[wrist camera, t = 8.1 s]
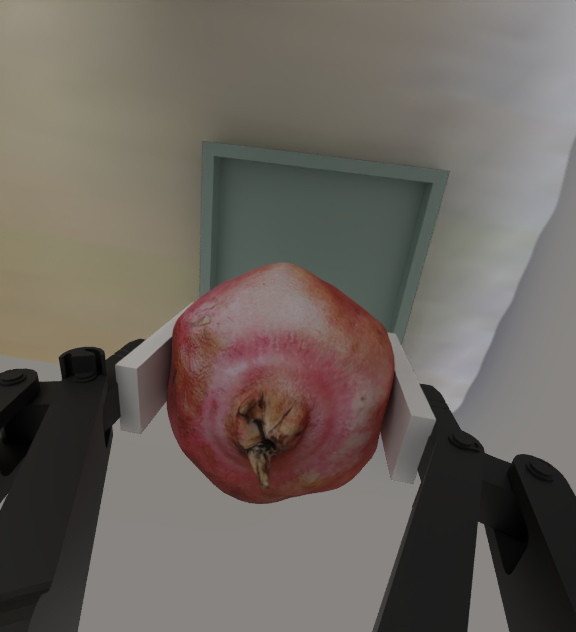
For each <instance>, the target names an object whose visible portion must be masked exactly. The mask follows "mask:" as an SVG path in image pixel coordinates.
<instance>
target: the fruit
mask: <svg viewBox="0 0 576 632" xmlns="http://www.w3.org/2000/svg"><path fill="white" fill-rule="evenodd" d="M394 368H395V362H394V353H393V349H392V345H391V342H390V339H389V336H388V333H387V331H386V329H385V327H384V326H383V325H382V323H380V322H379V321H378V320H377V319H376V318H374V317H373V316H372V315H371V314H370V313H369V312H367V311H366V310H365V309H364V308H362V307H361V306H360V305H359V304H357V303H356V302H355V301H353V300H352V299H351V298H349V297H348V296H347V295H345V294H344V293H343V292H341V291H340V290H339V289H338V288H336V287H335V286H333V285H331V284H329V283H327V282H325V281H323V280H321V279H319V278H318V277H316V276H315V275H314V274H312V273H310V272H309V271H307V270H305V269H304V268H302V267H299V266H297V265H294V264H291V263H275V264H270V265H265V266H262V267H259V268H256V269H253V270H250V271H248V272H246V273H245V274H243V275H241V276H238V277H236V278H233V279H230V280H228V281H225V282H223V283H221V284H219V285H218V286H216V287H215V288H214V289H212V290H211V291H209V292H207V293H206V294H204V295H203V296H202V297H200V298H199V299H198V300H197V301H195V302H194V303H193V304H192V305H191V306H189V307H188V308H187V309H186V310H185V311H184V312H183V313H182V314H181V315H180V317H179V318H178V319H177V321H176V323H175V325H174V328H173V333H172V361H171V371H170V377H169V383H168V388H167V411H168V416H169V420H170V423H171V427H172V430H173V433H174V435H175V438H176V440H177V442H178V444H179V446H180V448H181V449H182V451H183V452H184V453H185V455H186V456H187V457H188V458H189V459H190V460H191V461H192V462H193V463H194V464H195V465H196V467H198V469H199V470H200V471H201V472H202V473H203V474H204V475H205V476H206V477H207V478H208V479H209V480H210V481H211V482H212V483H213V484H214V485H215V486H216V487H218V488H219V489H220V490H221V491H223V492H224V493H226V494H228V495H230V496H232V497H234V498H236V499H238V500H241V501H244V502H248V503H255V504H265V503H266V504H268V503H273V502H278V501H282V500H284V499H288V498H291V497H297V496H302V495H306V494H312V493H318V492H324V491H329V490H333V489H337V488H339V487H341V486H343V485H345V484H346V483H348V482H349V481H350V480H352V479H353V478H354V477H355V476H356V475H357V474H358V473H359V472H360V471H361V470H362V468H363V467H364V466H365V465H366V463H367V462H368V461H369V460H370V459H371V458H372V456H373V454H374V453H375V451H376V448H377V444H378V439H379V434H380V429H381V424H382V420H383V417H384V414H385V410H386V406H387V403H388V400H389V396H390V393H391V388H392V383H393V377H394Z"/></svg>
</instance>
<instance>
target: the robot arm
mask: <svg viewBox="0 0 576 632" xmlns="http://www.w3.org/2000/svg"><path fill="white" fill-rule="evenodd" d="M193 303H194V302H192V303H191V304H189V305H188V306H187V307H186V308H184V309H183V310H182V311H181V312H180V313H178V314H177V315H176V316H175V317H173V318H172V319H171V320H170V321H168V322H167V323H166V324H165V325H164V326H162V327H161V328H160V329H159V330H157V331H156V332H155V333H154V334H152V335H151V336H150V337H149V338H148V339H146V340H145V339H137V340H135V341H132V342H130V343H128V344H126V345H125V346H124V347H122V348H121V350H118V351H117V352H116V353H114V355H112V356H111V357H109V358H108V359H107V360H105V353H104V351H103V350H102V349H100V348H96V347H81V348H75V349H72V350H69V351H67V352H65V353H63V354H62V355H61V356H60V357H59V362H60V368H61V374H62V381H53V382H39V379H38V375H37V372H35V371H34V370H31V369H13V370H8V371H5V372H3V373H0V503H1V502H2V500H3V499H4V498H5V496H6V495H7V494H8V495H7V497H6V499H5V501H4V503H3V506H2V508H1V510H0V632H78V626H79V621H80V615H81V609H82V604H83V598H84V593H85V587H86V581H87V576H88V571H89V565H90V560H91V554H92V548H93V543H94V538H95V532H96V526H97V520H98V515H99V510H100V504H101V498H102V493H103V487H104V482H105V477H106V471H107V466H108V460H109V454H110V449H111V443H112V438H113V430H112V425H113V424H114V423H115V422H116V421H117V420H118V419H119V418H120V426H121V430H122V431H128V432H133V433H138V434H141V433H142V432H143V431H144V429H145V428H146V427H147V426H148V424H149V423H150V422H151V420H152V419H153V418H154V416H155V415H156V414H157V412H158V411H159V410H160V409H161V407H162V406H163V405H164V403H165V402H166V401H167V388H168V383H169V377H170V371H171V361H172V333H173V328H174V325H175V323H176V321H177V319H178V318H179V317H180V315H181V314H182V313H183V312H184V311H185V310H186V309H187V308H188V307H189V306H191V305H192V304H193ZM387 333H388V332H387ZM388 336H389V339H390V342H391V345H392V349H393V353H394V362H395V368H394V377H393V383H392V388H391V393H390V396H389V400H388V403H387V406H386V410H385V414H384V417H383V420H382V424H381V429H380V432H381V436H382V441H383V446H384V450H385V455H386V460H387V464H388V469H389V474H390V478H391V480H394V481H400V482H405V483H411V484H413V483H414V480H415V478H416V475H417V472H418V473H419V476H420V479H421V484H420V487H419V490H418V492H417V495H416V498H415V501H414V503H413V506H412V511H411V514H410V517H409V520H408V523H407V526H406V529H405V533H404V536H403V539H402V542H401V545H400V548H399V551H398V554H397V557H396V560H395V564H394V567H393V569H392V573H391V576H390V579H389V582H388V585H387V588H386V591H385V594H384V597H383V600H382V603H381V607H380V610H379V613H378V616H377V619H376V622H375V625H374V628H373V631H372V632H467V628H468V618H469V608H470V598H471V588H472V577H473V567H474V556H475V547H476V536H477V525H478V522H480V523H483V524H484V525H485V529H486V534H487V538H488V543H489V547H490V551H491V555H492V559H493V564H494V568H495V572H496V577H497V581H498V585H499V589H500V593H501V598H502V602H503V606H504V610H505V615H506V619H507V623H508V628H509V631H510V632H576V496H575V494H574V493H573V491H572V489H571V488H570V485H569V484H568V482H567V480H566V479H565V478H564V476H563V475H562V474H561V473H560V472H559V471H558V470H557V469H556V468H554V467H553V466H552V465H551V464H549V463H548V462H545V461H544V460H542V459H539V458H536V457H534V456H531V455H526V454H520V455H517V456H516V457H515V458H514V459H513V461H512V463H509V462H506V461H503V460H501V459H498V458H495V457H493V456H490V455H488V454H486V453H485V452H484V448H483V446H482V445H481V444H480V442H479V441H478V440H477V439H476V438H474V437H473V436H472V435H470V434H468V433H466V432H464V431H462V430H461V429H460V427H459V425H458V423H457V422H456V420H455V418H454V416H453V415H452V413H451V411H450V410H449V407H448V405H447V404H446V403H445V400H444V398H443V396H442V395H441V393H440V392H439V391H437V390H436V389H435V388H434V387H433V386H431V385H425V384H419V382H418V380H417V378H416V376H415V374H414V372H413V370H412V367H411V365H410V363H409V361H408V359H407V357H406V355H405V353H404V350H403V348H402V346H401V344H400V342H399V340H398V338H397V336H396V334H395V333H388Z"/></svg>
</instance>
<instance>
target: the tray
mask: <svg viewBox="0 0 576 632" xmlns="http://www.w3.org/2000/svg"><path fill="white" fill-rule="evenodd" d="M449 172H450V171H447V170H439V169H431V168H422V167H414V166H406V165H398V164H389V163H381V162H373V161H365V160H356V159H348V158H340V157H332V156H323V155H315V154H307V153H299V152H290V151H282V150H274V149H266V148H257V147H249V146H241V145H233V144H224V143H216V142H208V141H202V190H201V245H200V297H202V296H203V295H204V294H206V293H207V292H209V291H211V290H212V289H214V288H215V287H216V286H218V285H219V284H221V283H223V282H225V281H228V280H230V279H233V278H236V277H238V276H241V275H243V274H245V273H246V272H248V271H250V270H253V269H256V268H259V267H262V266H265V265H270V264H275V263H291V264H294V265H297V266H299V267H302V268H304V269H305V270H307V271H309V272H310V273H312V274H314V275H315V276H316V277H318V278H319V279H321V280H323V281H325V282H327V283H329V284H331V285H333V286H335V287H336V288H338V289H339V290H340V291H341V292H343V293H344V294H345V295H347V296H348V297H349V298H351V299H352V300H353V301H355V302H356V303H357V304H359V305H360V306H361V307H362V308H364V309H365V310H366V311H367V312H369V313H370V314H371V315H372V316H373V317H374V318H376V319H377V320H378V321H379V322H380V323H382V325H383V326H384V327H385V329H386V331H387V332H388V333H395V334H396V336H397V338H398V340H399V342H400V344H402V341H403V337H404V334H405V330H406V327H407V323H408V319H409V316H410V312H411V309H412V305H413V301H414V298H415V294H416V291H417V287H418V283H419V280H420V276H421V273H422V269H423V265H424V262H425V258H426V255H427V251H428V247H429V244H430V240H431V237H432V233H433V230H434V226H435V222H436V219H437V215H438V212H439V208H440V204H441V201H442V197H443V194H444V190H445V186H446V183H447V179H448V176H449Z"/></svg>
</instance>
